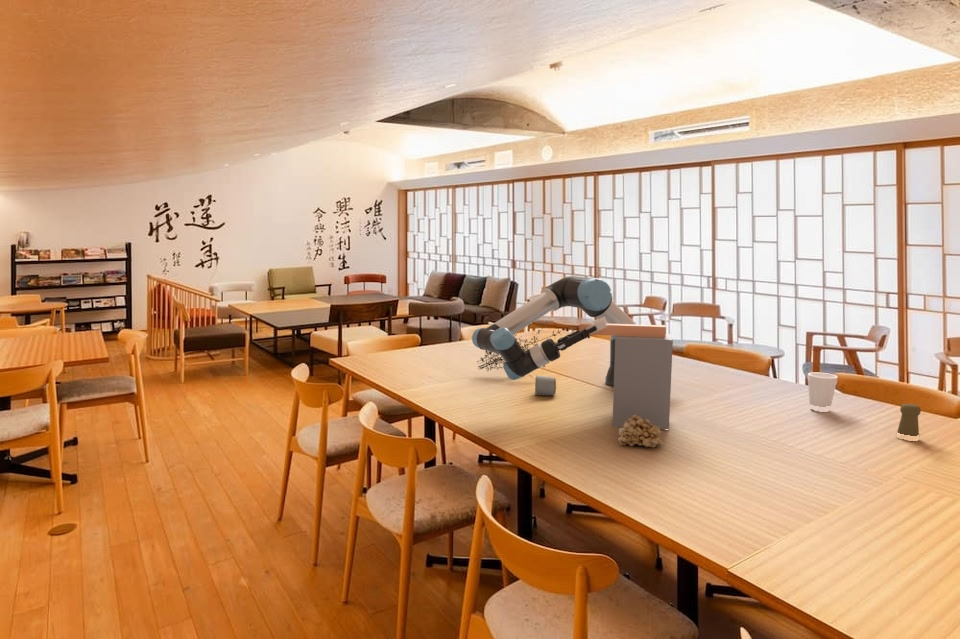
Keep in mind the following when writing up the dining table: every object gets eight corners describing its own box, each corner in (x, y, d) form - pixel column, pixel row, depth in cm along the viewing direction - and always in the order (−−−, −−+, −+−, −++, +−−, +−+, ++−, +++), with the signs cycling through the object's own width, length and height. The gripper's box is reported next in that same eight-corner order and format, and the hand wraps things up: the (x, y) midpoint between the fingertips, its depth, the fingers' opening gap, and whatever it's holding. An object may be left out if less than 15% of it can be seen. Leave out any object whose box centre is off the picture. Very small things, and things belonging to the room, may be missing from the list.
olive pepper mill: (896, 434, 196) (899, 400, 194) (919, 437, 192) (922, 403, 191) (895, 439, 191) (899, 405, 189) (919, 443, 188) (923, 408, 186)
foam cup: (831, 407, 225) (834, 373, 223) (837, 414, 216) (840, 379, 215) (803, 405, 228) (805, 371, 226) (807, 412, 220) (810, 377, 218)
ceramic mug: (556, 397, 240) (556, 378, 239) (535, 397, 240) (535, 378, 239) (554, 391, 250) (554, 372, 249) (534, 390, 251) (534, 372, 250)
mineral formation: (614, 447, 183) (619, 429, 197) (660, 459, 180) (661, 440, 194) (620, 423, 181) (624, 406, 195) (666, 434, 178) (667, 417, 192)
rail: (579, 334, 206) (579, 324, 206) (580, 332, 210) (580, 322, 209) (665, 337, 200) (665, 327, 199) (664, 335, 203) (665, 325, 203)
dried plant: (456, 341, 264) (551, 301, 251) (477, 335, 294) (563, 299, 281) (482, 406, 262) (580, 370, 249) (501, 394, 292) (589, 361, 279)
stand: (612, 426, 204) (615, 337, 200) (613, 416, 215) (616, 332, 211) (668, 430, 200) (672, 340, 195) (666, 419, 211) (670, 334, 207)
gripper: (554, 356, 221) (611, 327, 214) (547, 367, 203) (610, 335, 197) (544, 338, 221) (601, 308, 214) (536, 347, 203) (598, 315, 197)
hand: (605, 321), depth 206 cm, fingers open, 5 cm apart
